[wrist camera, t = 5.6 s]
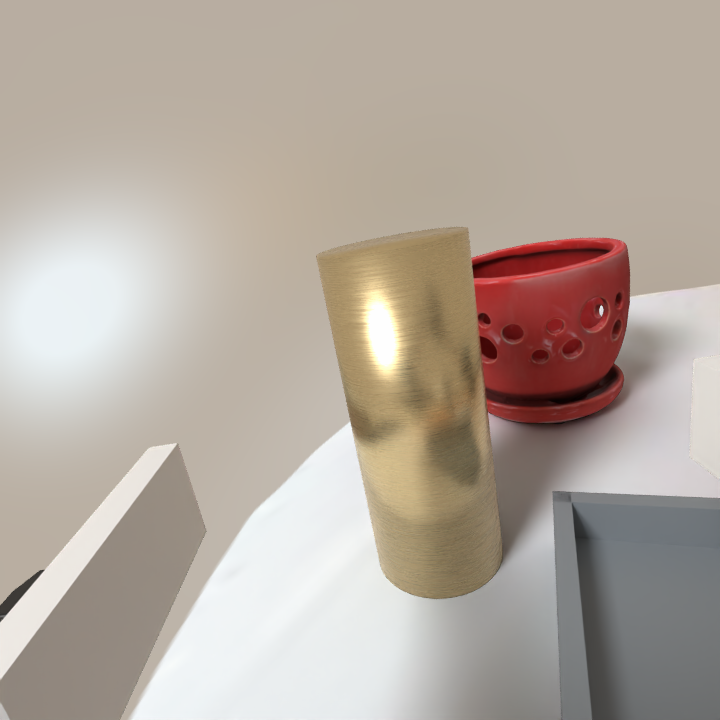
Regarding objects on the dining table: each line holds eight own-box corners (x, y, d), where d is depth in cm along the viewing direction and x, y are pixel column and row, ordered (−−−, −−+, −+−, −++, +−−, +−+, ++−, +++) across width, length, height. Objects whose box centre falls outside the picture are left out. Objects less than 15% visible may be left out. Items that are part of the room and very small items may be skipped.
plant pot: (514, 362, 48) (504, 241, 44) (659, 385, 38) (662, 231, 34) (425, 413, 41) (404, 273, 37) (575, 459, 31) (567, 273, 27)
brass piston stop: (397, 508, 29) (347, 242, 24) (506, 514, 27) (476, 221, 22) (363, 589, 24) (289, 265, 19) (497, 607, 21) (454, 240, 16)
